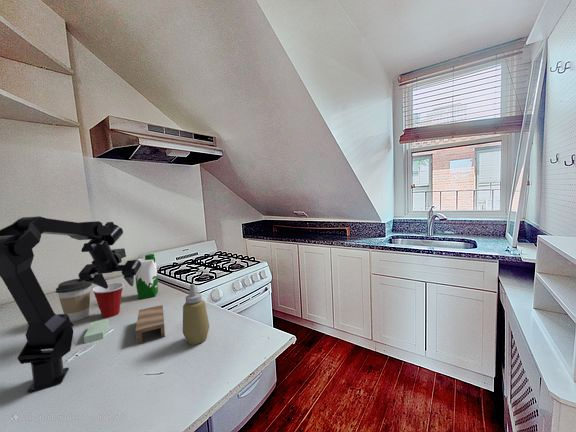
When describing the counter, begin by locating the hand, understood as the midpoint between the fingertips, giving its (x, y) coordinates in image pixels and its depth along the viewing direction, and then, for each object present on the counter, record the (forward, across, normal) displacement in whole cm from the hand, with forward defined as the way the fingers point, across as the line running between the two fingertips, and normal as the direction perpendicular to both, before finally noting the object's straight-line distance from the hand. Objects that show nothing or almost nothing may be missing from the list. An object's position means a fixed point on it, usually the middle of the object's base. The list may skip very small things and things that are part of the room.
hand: (119, 286), depth 95 cm
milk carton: (+26, +5, -19) cm, 33 cm away
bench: (+10, -13, +12) cm, 20 cm away
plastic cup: (+17, +11, -2) cm, 20 cm away
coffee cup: (+16, +24, -2) cm, 29 cm away
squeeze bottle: (+6, -32, +22) cm, 39 cm away
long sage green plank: (+10, +6, +12) cm, 17 cm away
